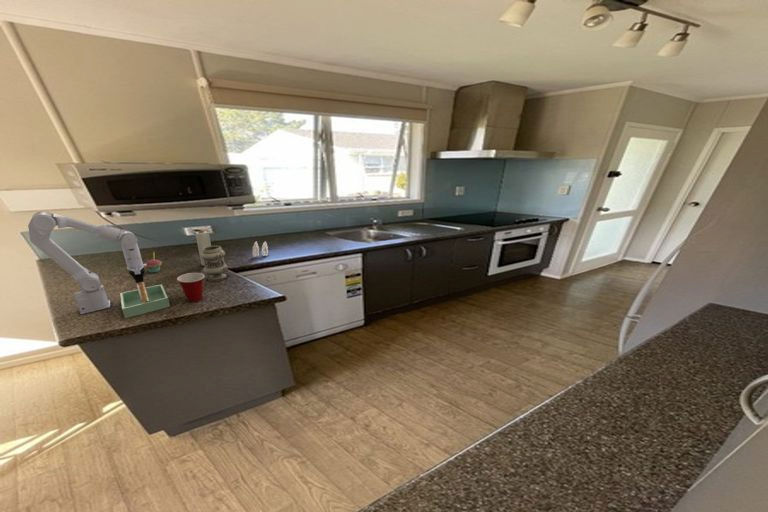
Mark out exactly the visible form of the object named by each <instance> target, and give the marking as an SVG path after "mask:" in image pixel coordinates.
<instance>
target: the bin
mask: <svg viewBox="0 0 768 512" xmlns="http://www.w3.org/2000/svg"><path fill="white" fill-rule="evenodd" d="M146 290H147V293H148V297H149V300H150V302H146V303H141V300H140V296H139V293H138V289H137V288H136V289H133V290H128V291H124V292H120V293H119V296H120V304H121V310H122V313H123V316H124V319H128V318H129V319H130V318H131V317H136V316H139V315H144V314H148V313H152V312H155V311H159V310H162V309H166V308H170V307H171V304H170V300H169V297H168V294H167V292H166V290H165V287H164V286H163V284H162V283H161V284H156V285H152V286H147V287H146Z"/></svg>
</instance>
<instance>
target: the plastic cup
mask: <svg viewBox="0 0 768 512" xmlns="http://www.w3.org/2000/svg"><path fill="white" fill-rule="evenodd" d="M205 277H206V276H205V273H201V272H188V273H183V274H181V275H179V276H178V277H177V278H176V280H177V282H178V283H179V285H180V287H181V289H182V291H183V293H184V295H185V297H186V300H187V301H188V302H190V303H194V302H198V301H201V300H202V299H203V290H204V289H203V287H204V280H205V279H204V278H205Z"/></svg>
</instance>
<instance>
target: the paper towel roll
mask: <svg viewBox="0 0 768 512" xmlns="http://www.w3.org/2000/svg"><path fill="white" fill-rule="evenodd" d="M195 238H196V243H197V248H198V253H199V259H200V265H201V266H203V267H205V262H204V259H202V258H201V253H202V252H203V249H204V248H205V247H209V246H212V243H211V237H210V232H208V231H205V230H200V231H195Z"/></svg>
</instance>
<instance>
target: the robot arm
mask: <svg viewBox="0 0 768 512" xmlns="http://www.w3.org/2000/svg"><path fill="white" fill-rule="evenodd" d="M56 227H57V229H64V228H65V229H66V228H71V229H75V230H80V231H84V232H89V233H94V234H95V236H96V237H97V238H99V239H104V240H107V241H111V242H114V243H120V244H121V247H122V248H121V250H122V253H123V257H124V260H125V265H126V269H127V270H129V271H128V274H129V275H130V276H131V277H132V279H134V281H135V283H136V284H137V283H139V282H144V276H145V275H144V274H145V271H146V270H145V267H144V266H147V265H146V264H144V262H143V259H142V254H141V251H140V247H139V246H138V240H139V239H138V238H137V236H136V235H135V233H133V232H132V231H130V230H126V229H123V228H122V229H119V228H116V227H112V225H111V224H102V225H95V224H92V223H89V222H86V221H82V220H78V219H76V218H73V217H70V216H66V215H62V214H58V213H52V212H49V211H38V212H35V213H34V214H32V217H31V219H30V221H29V223H28V225H27V228H28V236H29V241H30V242H31V243H32V244H33V245H34V246H35V247H36V248H37V249H38V250H39V251H40V252H42V253H43V254H44V255H47V257H48V258H49V259H51V260H52V261H54V263H56V264H57V265H58V266H59V267H60V268H62V269H63V270H64V271H66V272H67V273H68V274H69V275H70V276H71V277H72V278H73V279H74V281H75V282H76V283H77V284H78V285H79V288H80V291H77V292H74V299H75V302H76V305H77V309H78V310H79V314H80V315H84V314H89V313H93V312H97V311H102V310H106V309H109V308H111V300H109V299H108V296H107V294H106V293H107V292H106V289H105V288H104V287H105V286H104V285H103V284H102V282H101V281H100V275H98V274H97V273H95V272H93V271H90V270H89V269H87V268H86V267H84V266H83V265H82V264H80V262H78V261H77V260H76V259H75V258H73V257H72V256H71V255H70V254H69V253H68V252H67V251H66V250H64V249H63V248H62V247H61V246H60V245H59V244H58V243H56V241H54V240H53V239H52V238H51V234H52V231H53V230H54V229H55V228H56Z"/></svg>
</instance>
